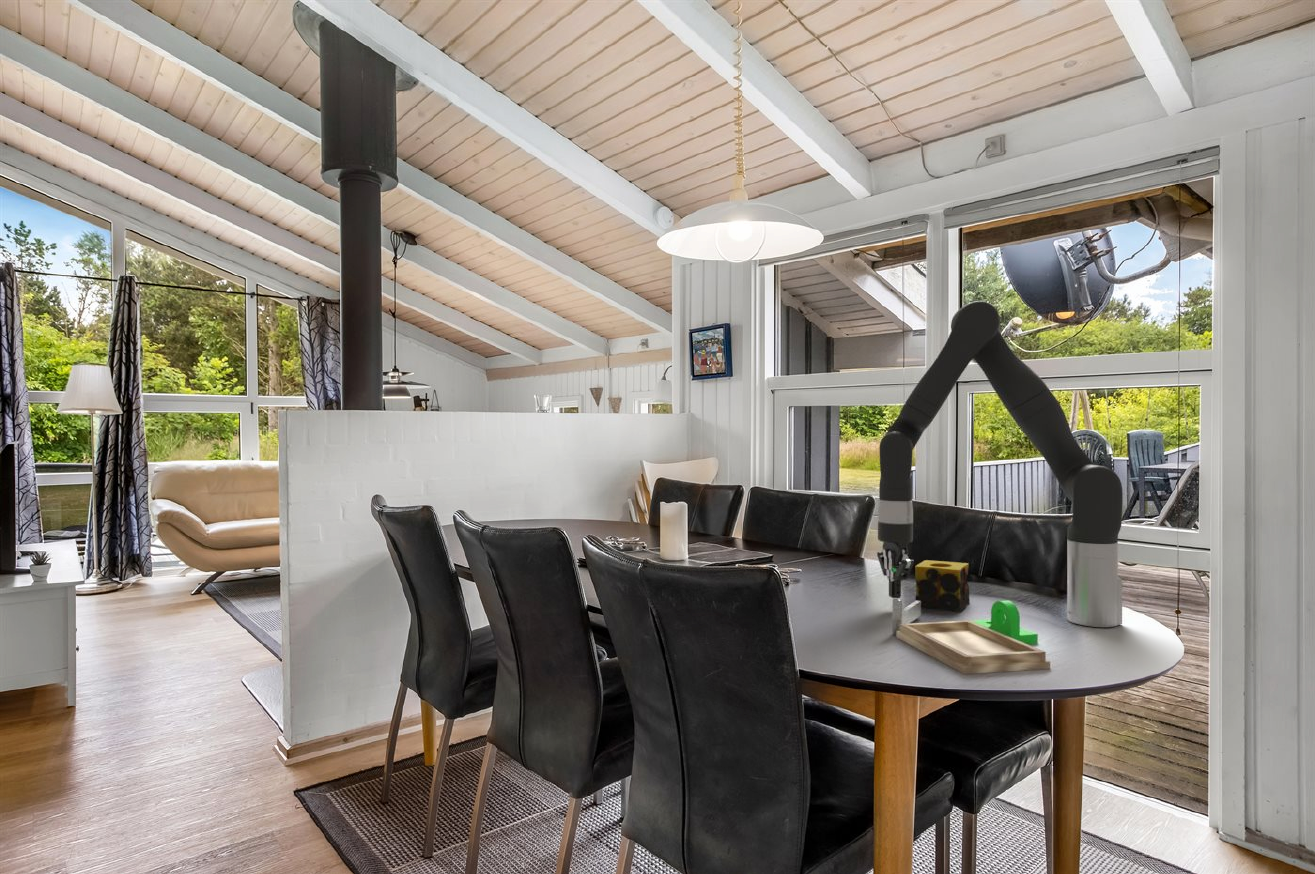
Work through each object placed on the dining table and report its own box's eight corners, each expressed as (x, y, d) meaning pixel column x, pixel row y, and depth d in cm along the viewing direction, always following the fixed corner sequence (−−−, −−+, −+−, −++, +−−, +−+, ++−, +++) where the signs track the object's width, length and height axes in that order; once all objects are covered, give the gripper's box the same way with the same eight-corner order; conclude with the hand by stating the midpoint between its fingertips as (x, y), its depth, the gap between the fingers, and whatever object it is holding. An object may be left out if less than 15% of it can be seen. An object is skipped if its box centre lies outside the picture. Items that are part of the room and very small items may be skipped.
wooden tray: (970, 632, 149) (970, 619, 149) (1050, 668, 126) (1050, 652, 126) (896, 637, 146) (896, 623, 146) (964, 674, 124) (964, 657, 124)
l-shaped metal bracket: (914, 618, 161) (914, 586, 161) (922, 619, 160) (922, 587, 160) (891, 635, 148) (891, 599, 148) (900, 636, 147) (900, 601, 147)
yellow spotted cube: (970, 605, 173) (970, 563, 173) (961, 614, 165) (961, 569, 164) (924, 600, 179) (924, 559, 178) (914, 609, 170) (914, 565, 170)
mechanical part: (1037, 644, 142) (1037, 602, 142) (1010, 646, 140) (1010, 604, 140) (995, 628, 153) (995, 589, 153) (969, 630, 152) (969, 591, 152)
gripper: (926, 523, 161) (925, 603, 161) (896, 516, 174) (895, 590, 174) (894, 524, 159) (893, 604, 160) (866, 517, 172) (865, 591, 173)
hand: (894, 597), depth 167 cm, fingers closed
